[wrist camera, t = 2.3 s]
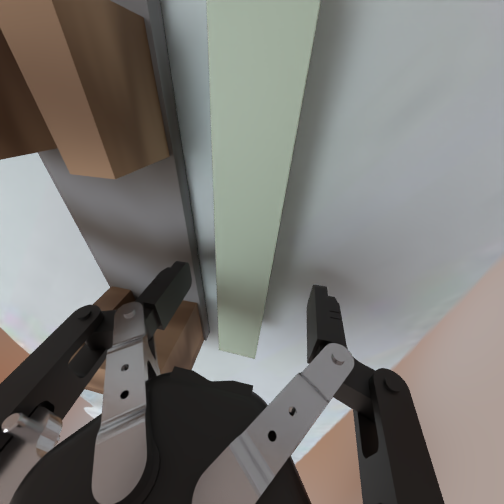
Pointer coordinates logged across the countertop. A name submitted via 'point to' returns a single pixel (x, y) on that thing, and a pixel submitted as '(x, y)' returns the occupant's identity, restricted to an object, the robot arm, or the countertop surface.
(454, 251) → the countertop surface
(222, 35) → the slat
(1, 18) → the holder
